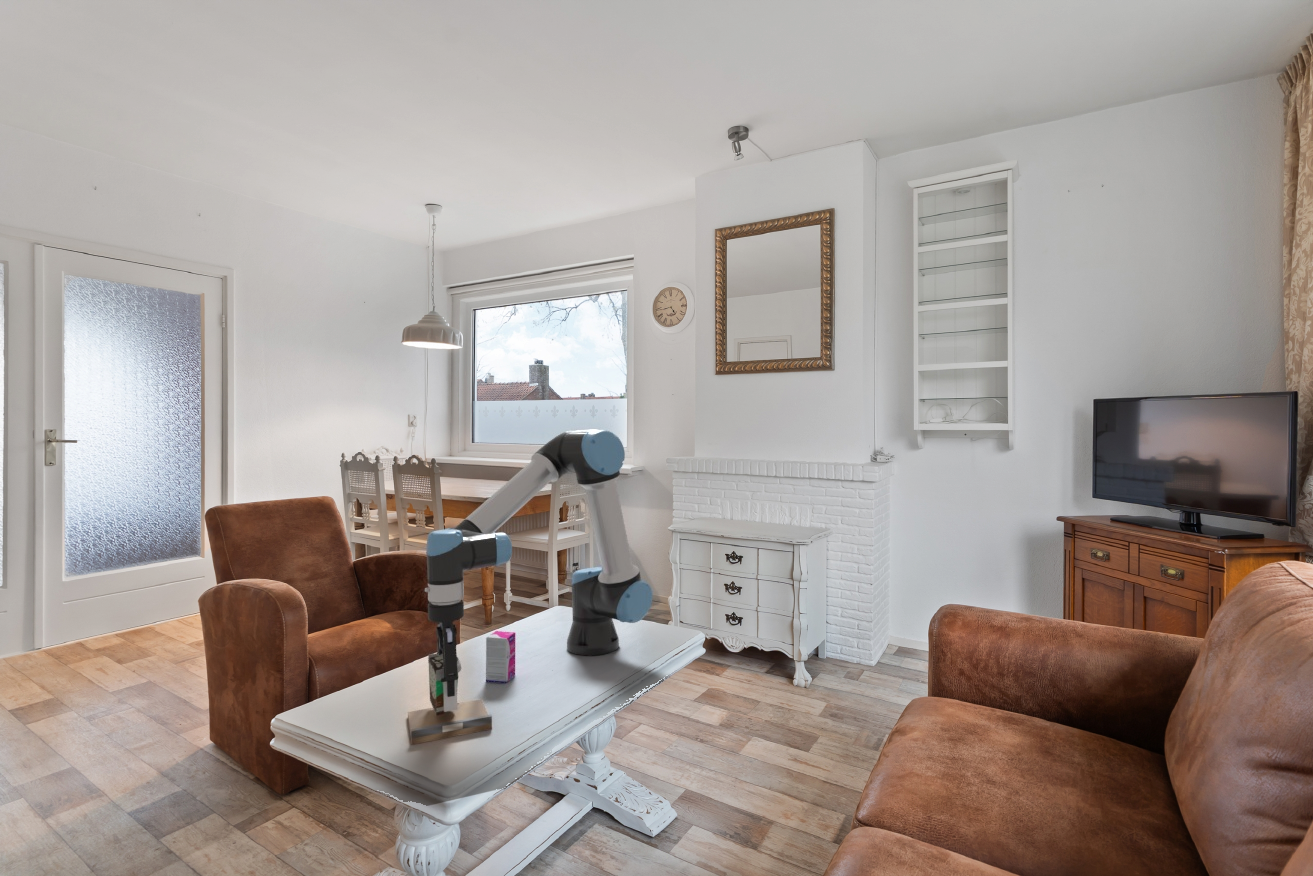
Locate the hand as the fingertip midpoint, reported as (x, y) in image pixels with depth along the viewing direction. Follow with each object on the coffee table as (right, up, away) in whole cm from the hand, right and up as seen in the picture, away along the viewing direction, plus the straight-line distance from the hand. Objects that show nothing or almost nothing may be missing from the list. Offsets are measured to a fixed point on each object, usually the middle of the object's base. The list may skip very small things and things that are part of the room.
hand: (447, 700), depth 143 cm
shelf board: (+1, -4, -2) cm, 5 cm away
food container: (0, -1, 0) cm, 2 cm away
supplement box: (+6, -4, +23) cm, 24 cm away
